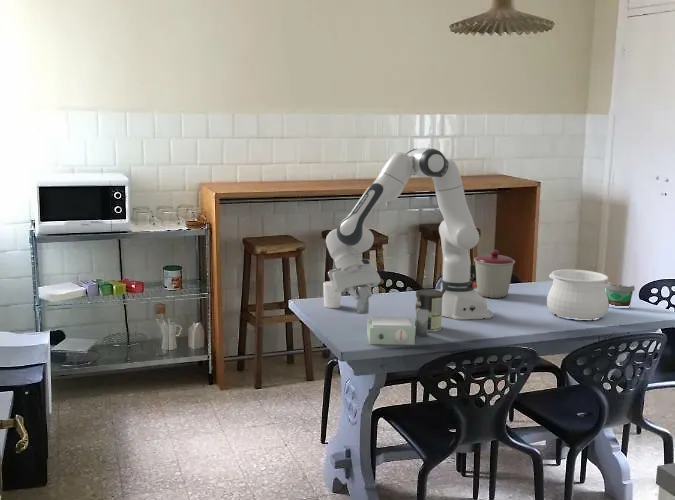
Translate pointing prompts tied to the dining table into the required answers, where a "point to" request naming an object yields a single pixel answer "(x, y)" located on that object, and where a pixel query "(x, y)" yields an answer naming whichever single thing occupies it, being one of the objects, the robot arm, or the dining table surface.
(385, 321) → the scale
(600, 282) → the pot
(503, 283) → the canister
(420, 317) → the spacer
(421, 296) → the coffee can
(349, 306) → the dining table surface
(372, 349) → the dining table surface
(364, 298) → the cylinder
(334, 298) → the white cup
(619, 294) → the food container
